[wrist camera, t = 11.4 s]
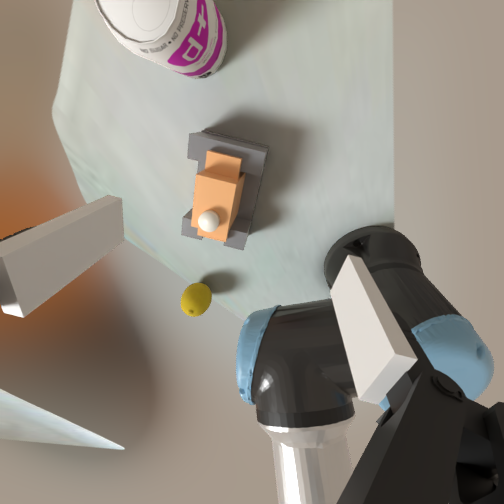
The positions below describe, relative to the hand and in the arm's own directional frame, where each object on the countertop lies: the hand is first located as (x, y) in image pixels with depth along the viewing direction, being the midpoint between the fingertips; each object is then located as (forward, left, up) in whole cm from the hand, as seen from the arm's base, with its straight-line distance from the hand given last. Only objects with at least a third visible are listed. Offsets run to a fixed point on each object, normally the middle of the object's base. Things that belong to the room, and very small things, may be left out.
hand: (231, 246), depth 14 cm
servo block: (+5, +5, -26) cm, 27 cm away
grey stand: (+5, +5, -27) cm, 28 cm away
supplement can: (+12, -13, -27) cm, 32 cm away
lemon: (+7, +26, -27) cm, 38 cm away
